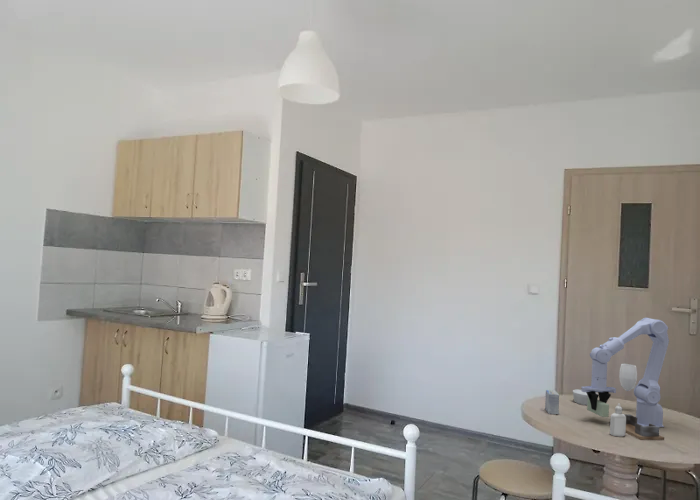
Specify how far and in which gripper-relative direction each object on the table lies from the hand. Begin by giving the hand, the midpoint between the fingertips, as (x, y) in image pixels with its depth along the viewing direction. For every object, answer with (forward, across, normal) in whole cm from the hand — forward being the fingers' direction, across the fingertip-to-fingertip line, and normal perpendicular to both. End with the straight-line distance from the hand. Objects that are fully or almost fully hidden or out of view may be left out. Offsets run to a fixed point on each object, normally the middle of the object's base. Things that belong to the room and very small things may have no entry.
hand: (597, 409), depth 218 cm
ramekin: (+5, -13, -29) cm, 32 cm away
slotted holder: (+5, -8, +13) cm, 16 cm away
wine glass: (+5, -26, -17) cm, 31 cm away
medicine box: (+5, +13, -13) cm, 19 cm away
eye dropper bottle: (+5, +3, +17) cm, 18 cm away
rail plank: (+2, 0, 0) cm, 2 cm away
